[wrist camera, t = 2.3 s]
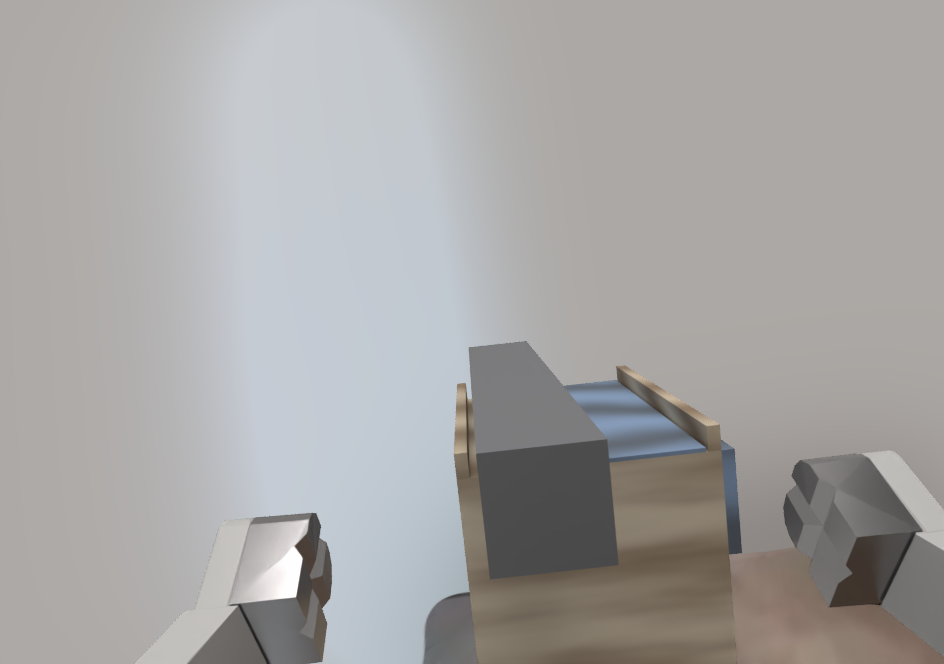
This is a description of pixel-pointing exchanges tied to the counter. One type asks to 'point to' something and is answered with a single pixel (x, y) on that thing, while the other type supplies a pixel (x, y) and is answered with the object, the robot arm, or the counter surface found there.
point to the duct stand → (621, 544)
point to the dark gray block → (538, 468)
